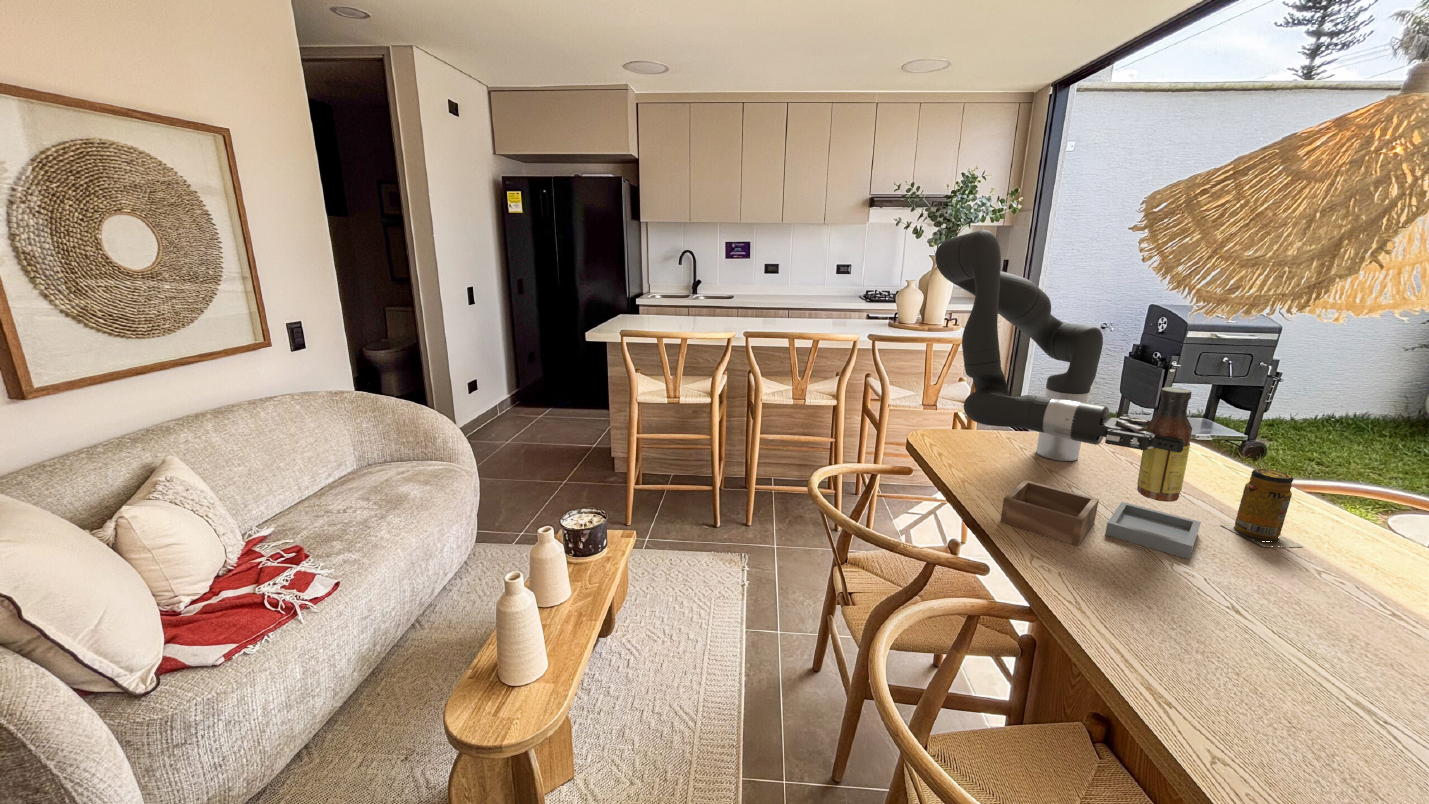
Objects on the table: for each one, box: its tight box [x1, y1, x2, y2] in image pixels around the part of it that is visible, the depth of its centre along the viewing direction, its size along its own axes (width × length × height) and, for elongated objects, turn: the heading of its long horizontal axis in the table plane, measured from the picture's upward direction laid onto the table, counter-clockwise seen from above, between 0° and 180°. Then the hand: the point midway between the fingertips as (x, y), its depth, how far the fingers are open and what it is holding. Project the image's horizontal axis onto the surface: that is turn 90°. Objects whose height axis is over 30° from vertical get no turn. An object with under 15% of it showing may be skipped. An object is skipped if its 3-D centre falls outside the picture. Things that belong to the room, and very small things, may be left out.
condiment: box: [1219, 468, 1304, 549], centre depth 99 cm, size 7×8×12 cm
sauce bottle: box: [1136, 386, 1193, 503], centre depth 97 cm, size 6×6×20 cm
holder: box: [1000, 479, 1100, 547], centre depth 105 cm, size 12×13×5 cm
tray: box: [1104, 501, 1202, 560], centre depth 101 cm, size 12×12×2 cm
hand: (1186, 441), depth 95 cm, fingers closed on sauce bottle, 6 cm apart
